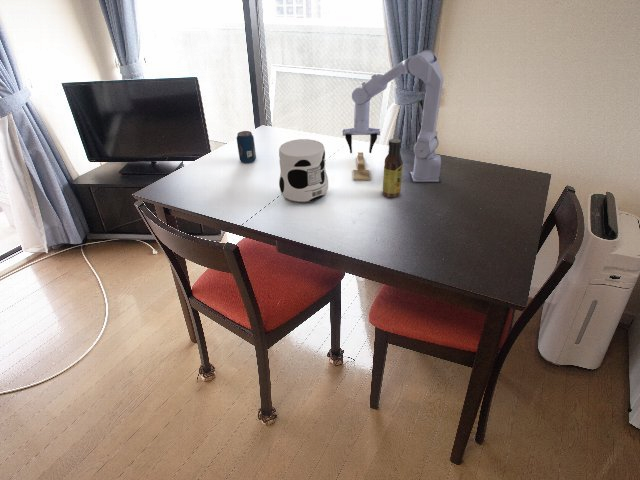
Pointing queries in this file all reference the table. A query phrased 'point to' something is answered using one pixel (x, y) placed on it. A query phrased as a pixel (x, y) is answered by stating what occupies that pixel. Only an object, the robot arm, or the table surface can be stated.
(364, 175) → the tan upright bar
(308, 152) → the milk container
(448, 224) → the table surface
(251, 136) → the soda can
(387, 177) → the sauce bottle
